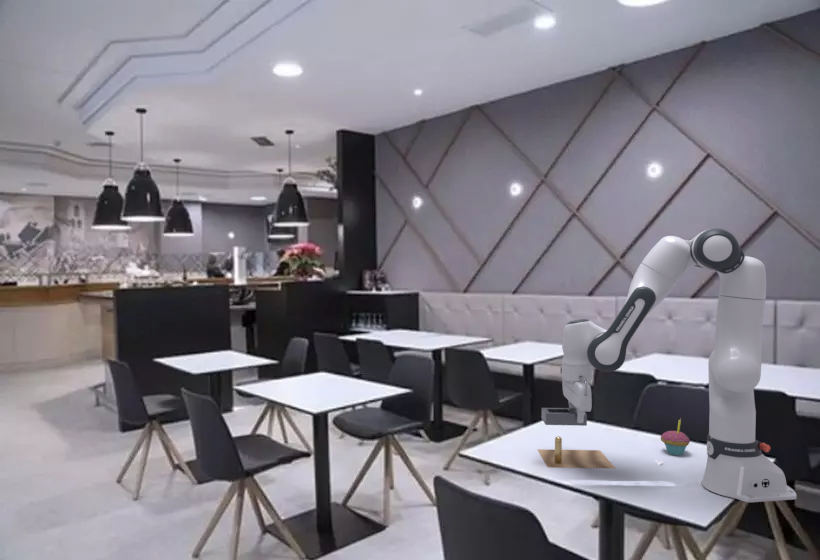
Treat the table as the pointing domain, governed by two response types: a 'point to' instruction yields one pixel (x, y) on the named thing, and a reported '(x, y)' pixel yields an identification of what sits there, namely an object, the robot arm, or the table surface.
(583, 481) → the table surface
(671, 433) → the cupcake
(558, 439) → the post
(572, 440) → the table surface
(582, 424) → the steel link
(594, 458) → the oak board
